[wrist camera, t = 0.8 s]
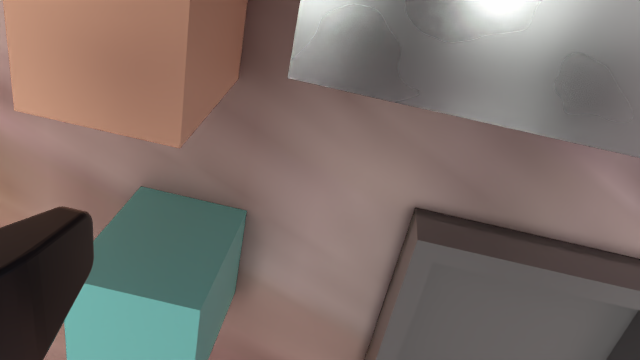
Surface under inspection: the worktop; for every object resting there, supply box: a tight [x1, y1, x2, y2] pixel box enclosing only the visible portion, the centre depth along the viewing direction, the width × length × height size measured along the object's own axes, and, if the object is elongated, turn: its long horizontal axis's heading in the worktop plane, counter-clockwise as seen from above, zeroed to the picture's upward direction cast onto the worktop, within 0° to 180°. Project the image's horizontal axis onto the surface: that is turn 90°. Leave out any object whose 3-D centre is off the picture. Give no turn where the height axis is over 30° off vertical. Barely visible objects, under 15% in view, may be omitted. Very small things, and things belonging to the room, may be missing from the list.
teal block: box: [64, 186, 247, 360], centre depth 20 cm, size 4×4×6 cm
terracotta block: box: [3, 0, 248, 148], centre depth 15 cm, size 4×4×6 cm
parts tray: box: [365, 208, 640, 360], centre depth 22 cm, size 10×10×2 cm
